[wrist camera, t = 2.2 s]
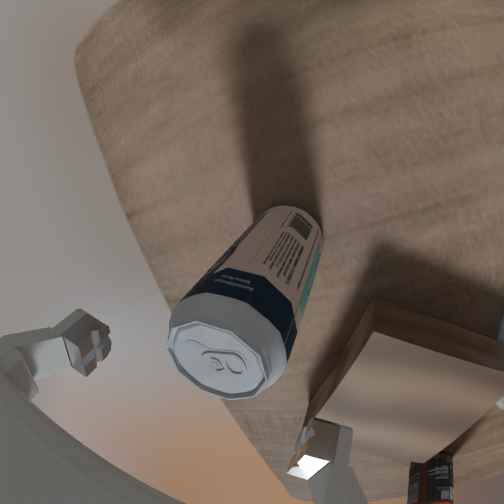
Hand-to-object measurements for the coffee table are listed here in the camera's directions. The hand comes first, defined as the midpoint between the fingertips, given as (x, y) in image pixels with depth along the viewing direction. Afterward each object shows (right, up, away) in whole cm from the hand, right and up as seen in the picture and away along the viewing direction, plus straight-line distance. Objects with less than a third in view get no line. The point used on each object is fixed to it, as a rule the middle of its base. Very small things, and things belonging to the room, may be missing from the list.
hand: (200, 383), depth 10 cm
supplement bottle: (+25, -22, +17) cm, 37 cm away
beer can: (+4, +6, +11) cm, 13 cm away
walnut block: (+15, -7, +12) cm, 21 cm away
